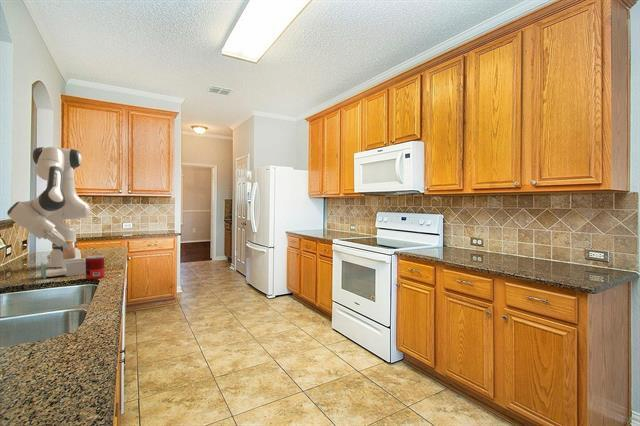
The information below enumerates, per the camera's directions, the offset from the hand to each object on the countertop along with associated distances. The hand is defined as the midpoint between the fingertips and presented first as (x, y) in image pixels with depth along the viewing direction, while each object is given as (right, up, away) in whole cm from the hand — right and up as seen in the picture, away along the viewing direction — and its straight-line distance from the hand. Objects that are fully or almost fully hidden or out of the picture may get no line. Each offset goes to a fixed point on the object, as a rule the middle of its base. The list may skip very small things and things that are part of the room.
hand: (70, 248), depth 165 cm
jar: (-1, -5, 0) cm, 5 cm away
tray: (-12, -15, +7) cm, 20 cm away
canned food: (+10, -16, +3) cm, 19 cm away
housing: (-7, -15, +12) cm, 21 cm away
